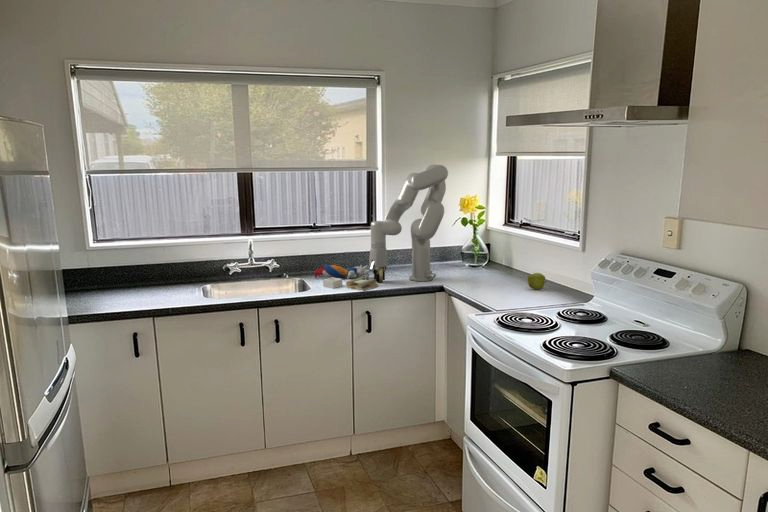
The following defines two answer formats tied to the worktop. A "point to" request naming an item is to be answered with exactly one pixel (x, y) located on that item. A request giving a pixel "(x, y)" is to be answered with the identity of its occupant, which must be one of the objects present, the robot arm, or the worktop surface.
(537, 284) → the apple
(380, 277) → the cylinder
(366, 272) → the figurine
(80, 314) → the worktop surface
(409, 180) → the robot arm
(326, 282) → the holder
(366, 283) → the tester base
